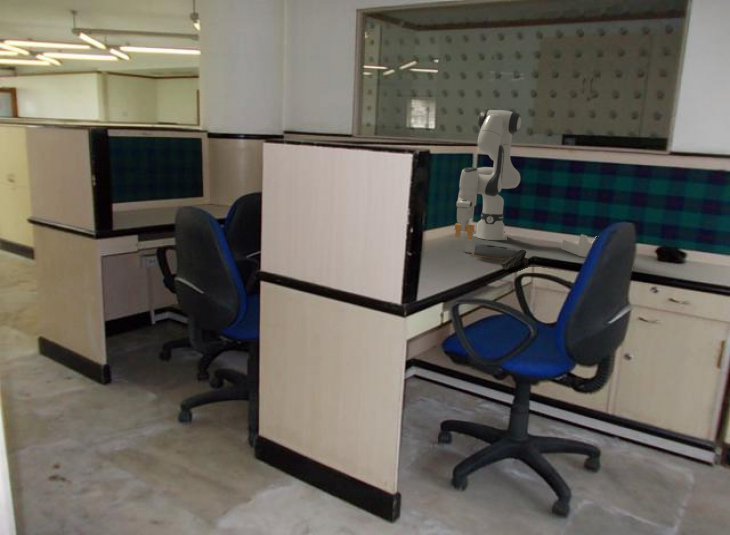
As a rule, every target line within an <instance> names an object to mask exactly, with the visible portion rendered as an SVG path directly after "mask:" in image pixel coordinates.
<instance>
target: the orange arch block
mask: <svg viewBox="0 0 730 535" xmlns="http://www.w3.org/2000/svg"><path fill="white" fill-rule="evenodd" d="M465 227H466V229H465V230H461V223H458V222H456V223H454V231H455V235H454V238H460V237H461V232H467V237H466V238H467V240H472V239H473V233H475V227H476V226H475V225H474V224H468V225H467V224H466V226H465Z"/></svg>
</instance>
